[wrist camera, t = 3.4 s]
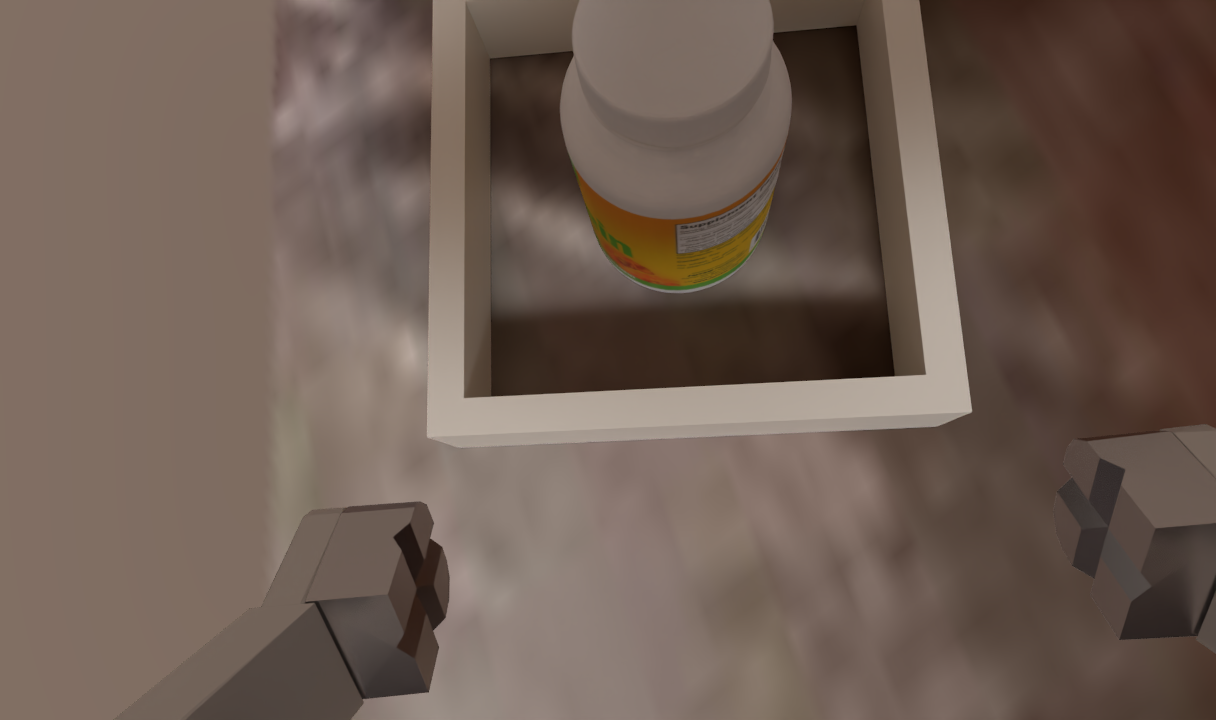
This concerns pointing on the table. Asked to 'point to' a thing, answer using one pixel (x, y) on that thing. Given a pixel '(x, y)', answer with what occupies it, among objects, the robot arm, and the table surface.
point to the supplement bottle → (676, 133)
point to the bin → (915, 397)
